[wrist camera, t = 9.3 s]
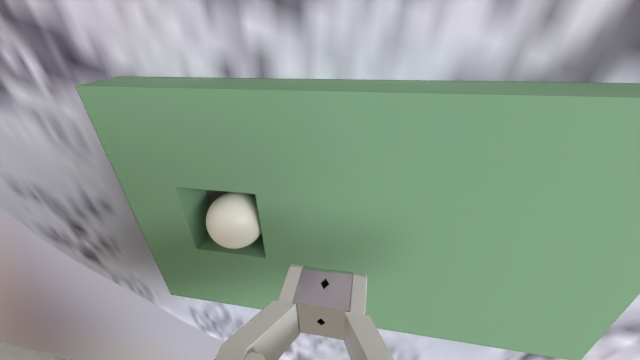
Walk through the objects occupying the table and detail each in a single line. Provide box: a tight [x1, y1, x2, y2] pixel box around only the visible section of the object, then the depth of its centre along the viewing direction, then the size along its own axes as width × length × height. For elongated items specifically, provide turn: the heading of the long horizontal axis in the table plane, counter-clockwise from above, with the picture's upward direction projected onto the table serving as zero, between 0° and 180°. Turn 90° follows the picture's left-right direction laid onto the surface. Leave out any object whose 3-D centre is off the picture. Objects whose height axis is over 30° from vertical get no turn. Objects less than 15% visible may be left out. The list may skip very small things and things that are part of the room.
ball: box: [206, 192, 262, 249], centre depth 19 cm, size 4×4×4 cm
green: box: [75, 77, 640, 360], centre depth 18 cm, size 18×32×3 cm, turn 90°
